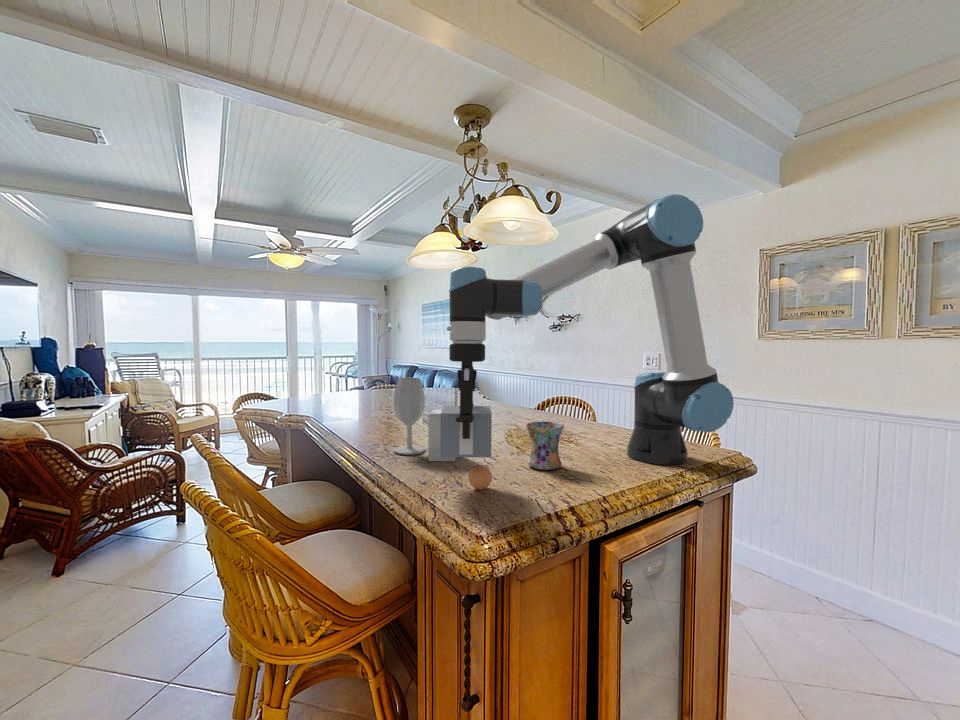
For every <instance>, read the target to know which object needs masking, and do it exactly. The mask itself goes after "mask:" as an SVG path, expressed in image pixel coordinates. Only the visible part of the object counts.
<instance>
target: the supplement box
mask: <svg viewBox="0 0 960 720" xmlns="http://www.w3.org/2000/svg"><path fill="white" fill-rule="evenodd" d="M441 411H442V409H432V410H430V412H429V413H428V418H427V419H428V421H427V422H428V425H427V427H428V429H427V430H428V433H427V434H428V435H427V439H428V441H427V443H428V444H427V445H428V447H427V448H428V451H427V453H428V459H427V461H429V462H456V458H457V457H440V413H441Z"/></svg>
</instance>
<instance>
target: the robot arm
mask: <svg viewBox="0 0 960 720" xmlns="http://www.w3.org/2000/svg"><path fill="white" fill-rule="evenodd" d="M703 228H704V219H703V214H702V211H701V210H700V208H699V206H698V205H697V204H696V203H695V201H693V200H690V199H689V197H687V196H685V195H682V194H675V193H674V194H669V195H665V196H663V197H660V198H658V199H654V200H653V201H652V202H650V203H649V204H647V205H645V206H643V207H642V208H640V209H638V210H636V211H634V212H632V213H630V214H628V215H626V216H625V217H623V219H621V220H620V221H618V222H616V223H615V224H613V225H612V226H610V227H609V228H607V229H606V230H603V231H602V232H600V233H597V234H596V235H595V236H594V239H593V240H592V241H589V242H588V243H587V244H584V245H581V246H580V247H578V248H575V249H573V250H571V251H569V252H567V253H565V254H562V255H561V256H559V257H557V258H555V259H552V260H550V261H548V262H546V263H544V264H542V265H540V266H538V267H535V268H533V269H531V270H529V271H527V272H525V273H523V274H521V275H519V276H516V277H515V278H512V279H493V278H488V277H487V271H486V270H485V269H484V268H482V267H476V266H460V267H456V268H454V269H453V270H452V271H451V272H450V282H449V284H450V285H449V290H448V292H449V325H450V326H447V327H446V331H447V332H449V340H450V341H451V342H452V343H450V344H449V348H448V349H449V361H450V362H460V363H461V366H460V367H461V369H458V370H457V380H458V386H457V387H458V391H459V392H460V393H459V406H460V416H459V418H456V422H459V455H473V416H472V410H473V406H474V403H473V402H474V400H473V399H474V392H475V391H476V380H477V372H478V371H477V369H474V366H473V365H474V364H473V363H476V362H477V363H479V362H484V361H485V360H486V345H485V344H484V343H483V342H485V341H486V338H487V336H486V334H487V333H486V331H487V330H486V328H487V327H486V326H487V325H486V324H487V322H486V318H489V319H492V320H498V321H499V320H502V319H503V318H509V317H514V316H521V317H526V316H536V315H538V314H539V312H540V311H541V308H542V305H543V299H545V298H546V297H547V298H548V297H549V296H551V295H553V294H554V293H555V294H556V292H557V293H558V292H559V291H562V290H564V289H565V288H568V287H570V286H572V285H573V284H575V283H577V282H579V281H582V280H584V279H586V278H588V277H590V276H592V275H595V274H596V273H599V272H600V271H602V270H604V269H607V270H613V269H616V268H617V267H620V266H622V265H625V264H628V263H632V262H635V261H640V263H641V264H640V265H641V266H642V267H643V268H645V269H646V270H648V272H649V273H650V274H649V275H650V279H651V285H652V291H653V296H654V301H655V306H656V312H657V317H658V323H659V328H660V334H661V335H660V336H661V341H662V345H663V352H664V356H665V357H664V358H665V362H666V367H667V370H666V371H665V372H664V371H662V372H661V371H660V372H646V373H640V374H638V375H637V376H635V381H634V387H633V389H634V420H633V421H634V425H633V430H632V433H631V434H630V438H629V441H628V444H627V445H626V446H627V447H626V449H627V450H626V455H627V457H628V458H631V459H632V460H634V461H639V462H642V463H647V464H654V465H666V466H668V465H669V466H670V465H673V466H674V465H675V466H676V465H682V464H685V463H687V462H688V457H689V455H688V449H687V447H686V443H685V440H684V436H683V434H682V428H685V429H687V430H689V431H693V432H700V433H711V432H712V433H713V432H715V431H717V430H719V429H720V428H722V427H723V426H724V425H725V424H726V423H727V421H728V419H730V418H731V415H732V412H733V410H734V397H733V394H732V391H731V390H730V389H729V388H728V387H726V385H724V384H723V383H720V382H719V378H718V373H717V369H716V368H714V367H712V366H711V365H710V364H709V363H708V358H707V354H706V353H707V352H706V348H705V347H706V346H705V342H704V341H705V340H704V334H703V329H702V324H701V317H700V311H699V306H698V301H697V300H698V299H697V296H696V289H695V288H696V287H695V283H694V277H693V276H694V275H693V273H692V272H693V271H692V265H691V261H692V259H693V258H694V256H695V255H696V253H697V251H696V241H697V240H698V239H699V238H700V236H701V233H702V232H703ZM681 427H682V428H681Z"/></svg>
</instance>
